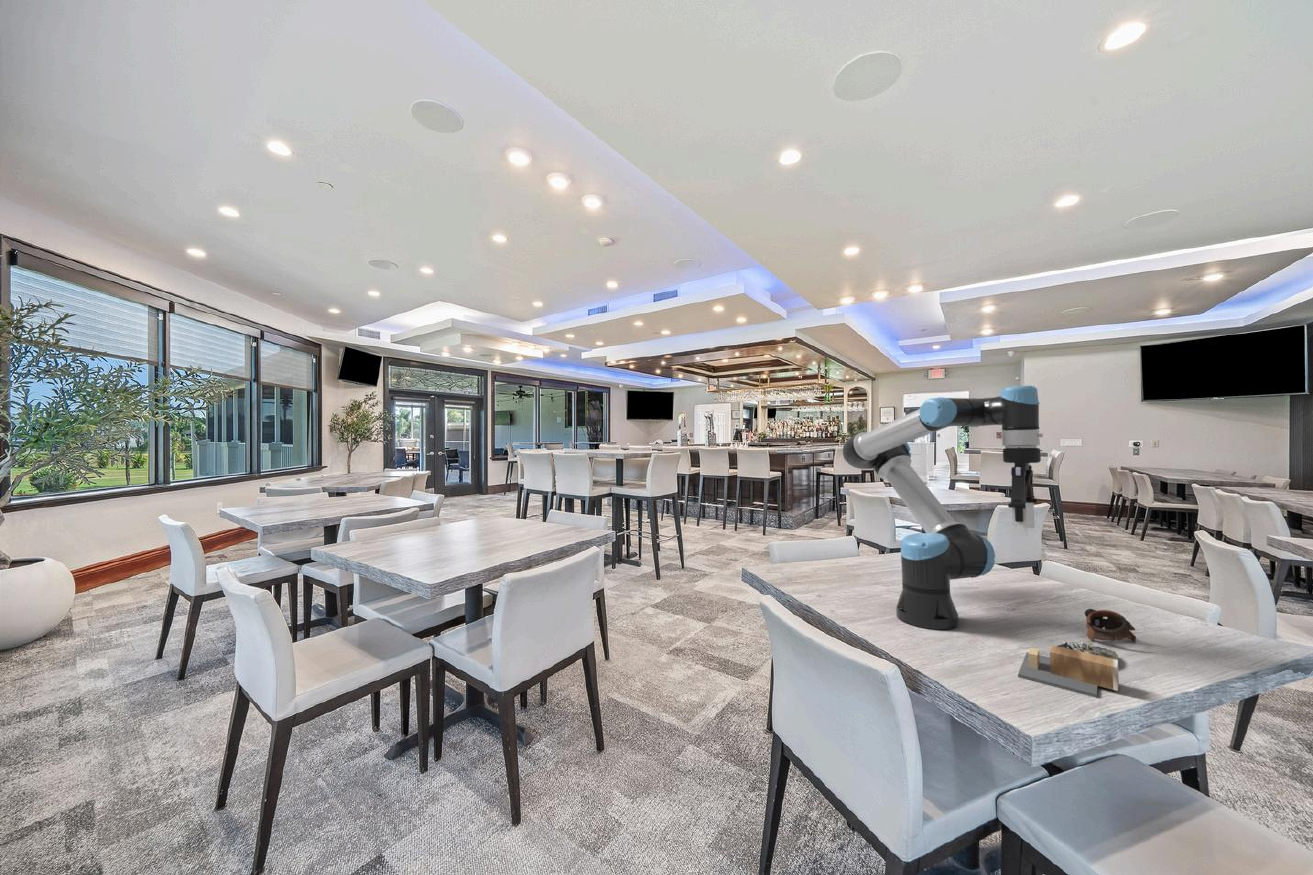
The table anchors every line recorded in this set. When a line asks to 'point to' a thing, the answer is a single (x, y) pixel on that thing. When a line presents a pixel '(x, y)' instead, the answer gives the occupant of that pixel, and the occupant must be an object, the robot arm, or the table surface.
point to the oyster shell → (1090, 649)
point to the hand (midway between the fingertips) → (1024, 531)
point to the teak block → (1084, 667)
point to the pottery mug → (1108, 626)
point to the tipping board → (1039, 671)
